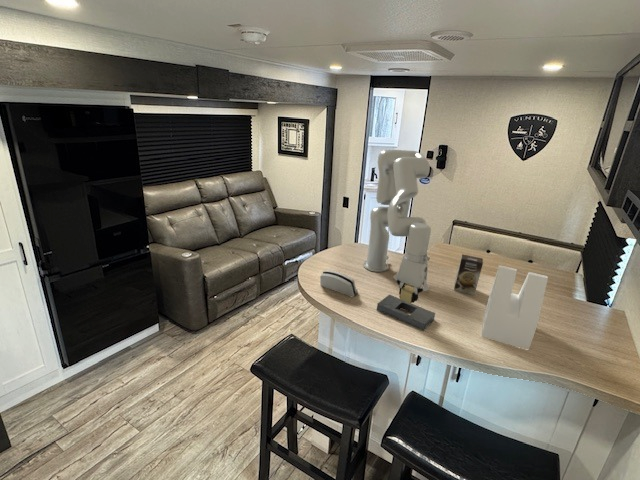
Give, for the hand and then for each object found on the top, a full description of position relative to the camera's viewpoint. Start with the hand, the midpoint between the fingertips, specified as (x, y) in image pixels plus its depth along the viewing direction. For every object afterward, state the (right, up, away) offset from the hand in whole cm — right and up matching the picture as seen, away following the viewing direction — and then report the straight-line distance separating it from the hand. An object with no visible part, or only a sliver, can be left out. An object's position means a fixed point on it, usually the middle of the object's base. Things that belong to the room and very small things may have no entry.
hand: (407, 298), depth 136 cm
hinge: (-27, 0, +18) cm, 32 cm away
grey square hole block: (0, -7, +3) cm, 7 cm away
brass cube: (0, 0, 0) cm, 0 cm away
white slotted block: (+36, -12, -2) cm, 38 cm away
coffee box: (+32, 0, +26) cm, 41 cm away
